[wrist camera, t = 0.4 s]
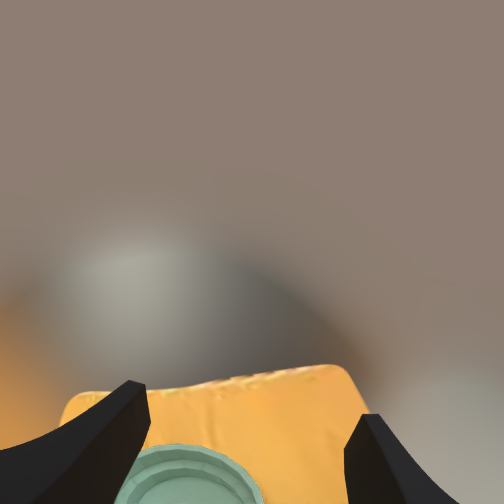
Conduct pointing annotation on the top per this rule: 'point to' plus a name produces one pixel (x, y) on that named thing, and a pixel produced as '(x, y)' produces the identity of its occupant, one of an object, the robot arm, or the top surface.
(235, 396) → the top surface
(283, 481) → the top surface
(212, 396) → the top surface
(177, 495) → the bowl
